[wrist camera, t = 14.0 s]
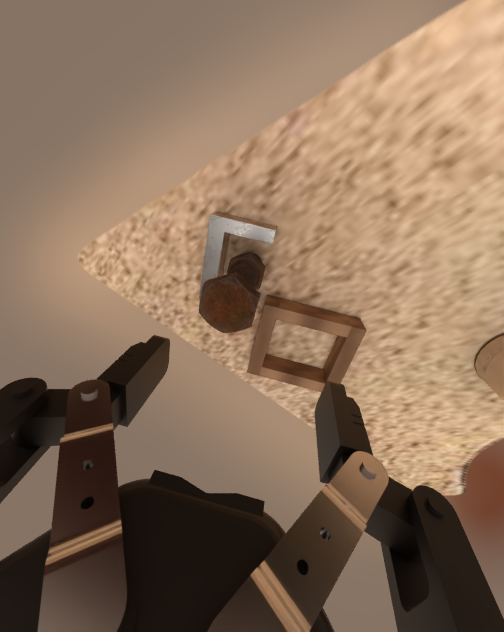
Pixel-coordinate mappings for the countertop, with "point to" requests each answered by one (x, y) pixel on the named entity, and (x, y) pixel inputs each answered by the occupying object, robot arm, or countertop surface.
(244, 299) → the bolt
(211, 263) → the block
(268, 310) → the square frame block
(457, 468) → the countertop surface
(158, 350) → the robot arm
